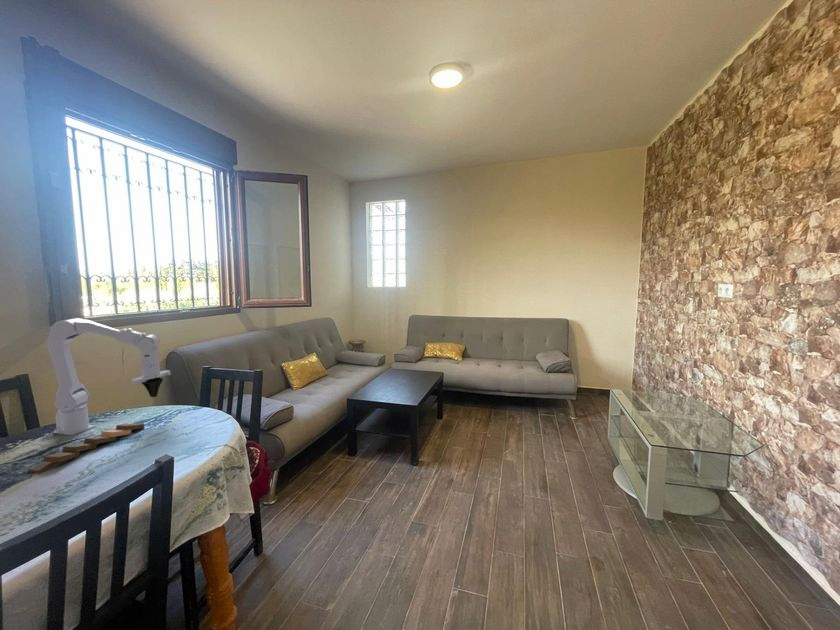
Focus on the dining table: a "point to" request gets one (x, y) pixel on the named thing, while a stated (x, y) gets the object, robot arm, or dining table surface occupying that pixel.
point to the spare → (115, 433)
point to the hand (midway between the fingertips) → (153, 396)
